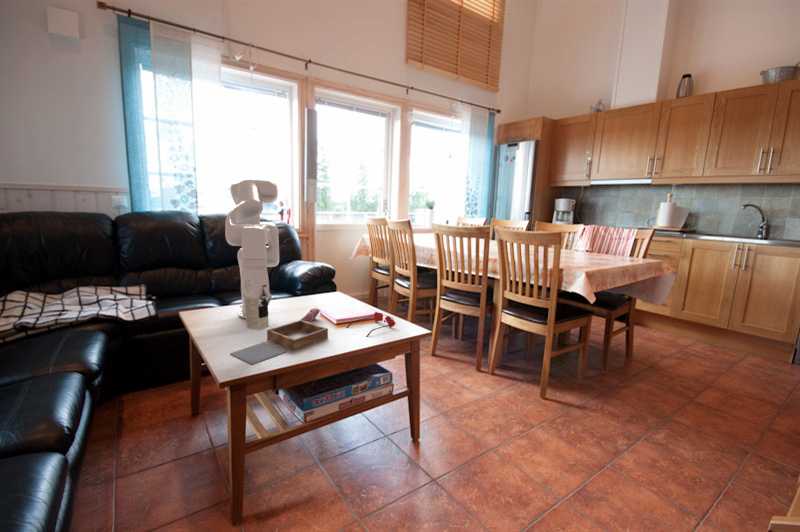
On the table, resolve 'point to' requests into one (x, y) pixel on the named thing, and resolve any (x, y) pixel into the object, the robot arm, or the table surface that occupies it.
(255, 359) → the grey mat
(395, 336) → the table surface
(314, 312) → the pink animal figurine
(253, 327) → the skincare box
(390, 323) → the glasses
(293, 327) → the walnut box
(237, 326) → the table surface
